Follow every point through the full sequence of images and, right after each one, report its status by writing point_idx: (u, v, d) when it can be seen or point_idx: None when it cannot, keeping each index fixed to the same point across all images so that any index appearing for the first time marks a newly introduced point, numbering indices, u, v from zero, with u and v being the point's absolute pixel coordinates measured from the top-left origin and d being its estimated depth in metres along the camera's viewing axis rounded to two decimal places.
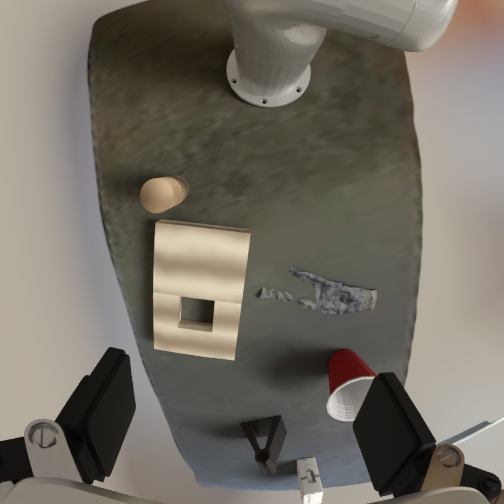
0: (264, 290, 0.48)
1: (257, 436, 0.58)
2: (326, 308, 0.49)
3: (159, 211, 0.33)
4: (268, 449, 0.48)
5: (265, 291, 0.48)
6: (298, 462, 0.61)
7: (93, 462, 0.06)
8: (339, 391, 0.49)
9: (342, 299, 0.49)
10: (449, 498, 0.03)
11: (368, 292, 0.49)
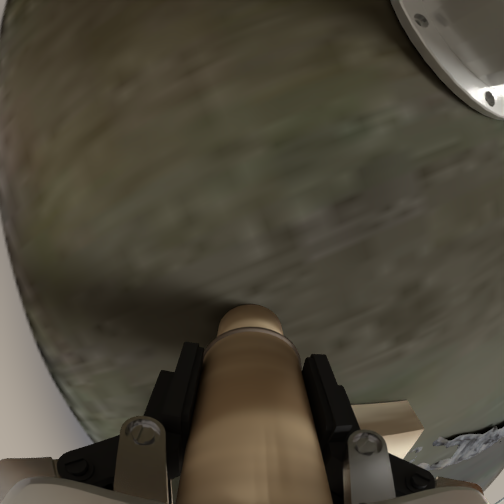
0: None
1: None
2: (465, 458, 0.20)
3: None
4: None
5: None
6: None
7: (181, 453, 0.07)
8: None
9: (486, 442, 0.19)
10: (449, 498, 0.03)
11: None
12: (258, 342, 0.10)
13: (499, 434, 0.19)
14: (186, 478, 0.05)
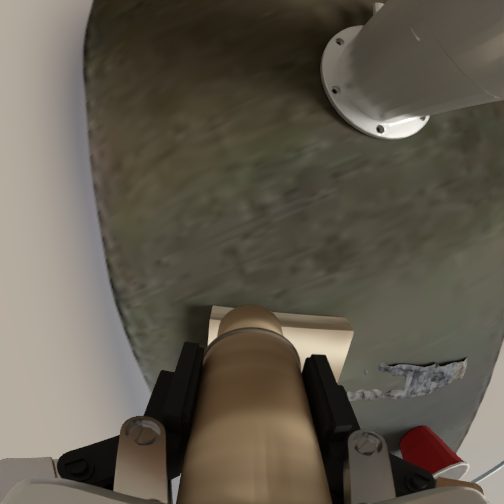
0: (349, 395, 0.33)
1: None
2: (417, 392, 0.34)
3: None
4: None
5: (350, 395, 0.33)
6: None
7: (181, 453, 0.07)
8: None
9: (434, 379, 0.33)
10: (449, 498, 0.03)
11: (459, 364, 0.33)
12: (258, 343, 0.10)
13: (444, 372, 0.32)
14: (186, 478, 0.05)
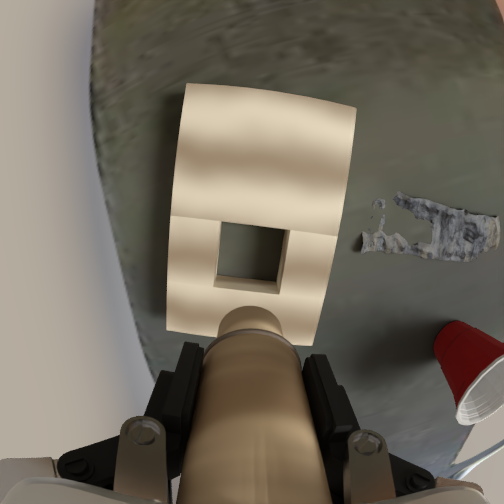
0: (366, 238, 0.27)
1: None
2: (450, 252, 0.28)
3: None
4: None
5: (367, 240, 0.28)
6: None
7: (181, 453, 0.07)
8: None
9: (467, 235, 0.27)
10: (449, 498, 0.03)
11: (492, 221, 0.27)
12: (258, 344, 0.10)
13: (476, 225, 0.26)
14: (186, 481, 0.05)
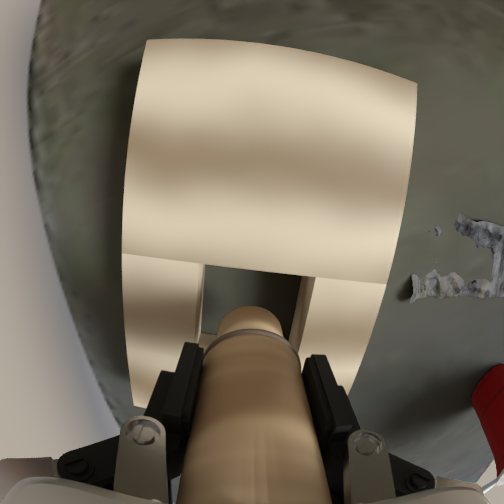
0: (416, 282, 0.18)
1: None
2: None
3: None
4: None
5: (418, 284, 0.18)
6: None
7: (181, 453, 0.07)
8: None
9: None
10: (449, 498, 0.03)
11: None
12: (258, 344, 0.10)
13: None
14: (186, 481, 0.05)
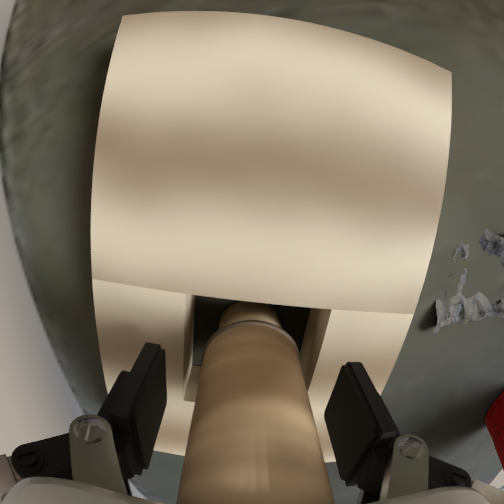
0: (440, 310, 0.15)
1: None
2: None
3: None
4: None
5: (442, 312, 0.15)
6: None
7: (135, 455, 0.07)
8: None
9: None
10: (449, 498, 0.03)
11: None
12: (258, 334, 0.11)
13: None
14: (189, 463, 0.06)
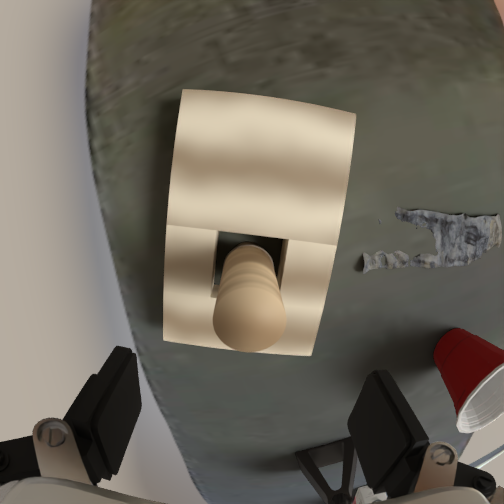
0: (367, 257, 0.27)
1: None
2: (453, 258, 0.27)
3: (255, 349, 0.16)
4: (347, 489, 0.26)
5: (368, 259, 0.27)
6: (360, 491, 0.39)
7: (101, 460, 0.06)
8: None
9: (468, 239, 0.27)
10: (449, 498, 0.03)
11: (492, 220, 0.26)
12: (251, 248, 0.23)
13: (477, 227, 0.26)
14: (222, 283, 0.18)
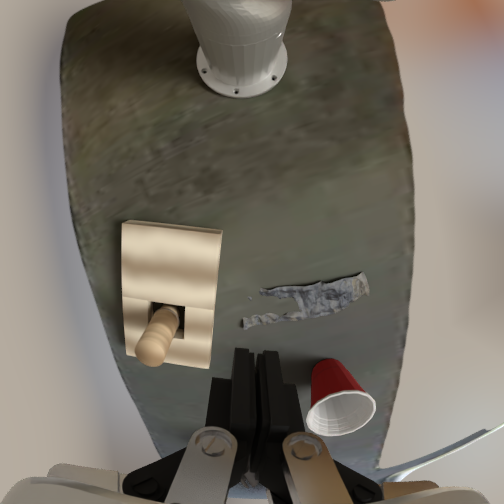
0: (245, 320, 0.46)
1: None
2: (316, 312, 0.45)
3: (154, 365, 0.34)
4: (248, 461, 0.45)
5: (247, 321, 0.46)
6: None
7: None
8: (323, 403, 0.45)
9: (329, 297, 0.45)
10: (449, 498, 0.03)
11: (354, 279, 0.44)
12: (164, 311, 0.41)
13: (335, 289, 0.44)
14: (142, 334, 0.36)
